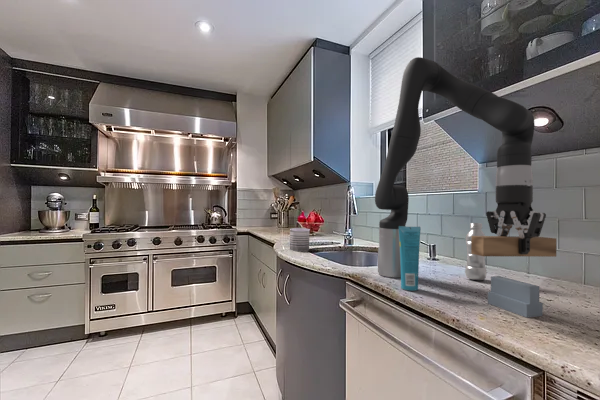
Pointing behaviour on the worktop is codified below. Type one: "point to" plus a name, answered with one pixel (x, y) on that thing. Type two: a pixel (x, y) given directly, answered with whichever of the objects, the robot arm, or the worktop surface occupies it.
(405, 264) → the tube
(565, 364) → the worktop surface
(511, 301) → the ridge
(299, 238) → the can
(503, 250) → the walnut bar
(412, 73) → the robot arm
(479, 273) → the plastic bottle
